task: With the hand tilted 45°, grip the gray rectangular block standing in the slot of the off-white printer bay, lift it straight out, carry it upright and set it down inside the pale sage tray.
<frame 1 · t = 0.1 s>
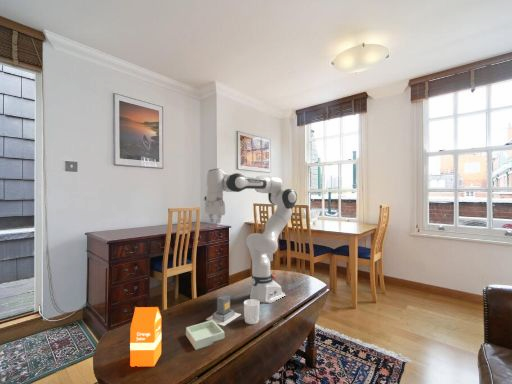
hand: (214, 222, 142), 48 cm above the table, tool pointing down, fingers open, 8 cm apart
orange juice: (146, 360, 98), on the table
printer bay: (223, 318, 130), on the table
gray rectangular block: (223, 316, 130), point 1 cm above the table, touching printer bay
sage tray: (204, 337, 113), on the table
white cup: (251, 323, 126), on the table
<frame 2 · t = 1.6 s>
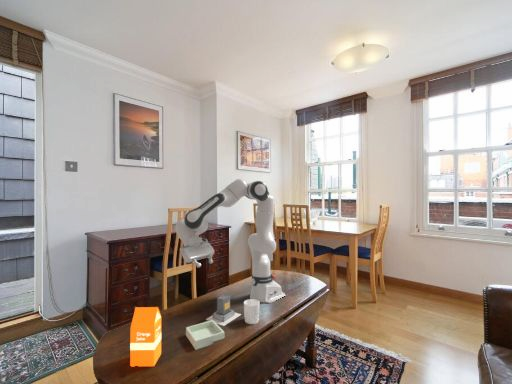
hand: (206, 264, 138), 26 cm above the table, tool tilted 45°, fingers open, 8 cm apart
nothing on the table moved.
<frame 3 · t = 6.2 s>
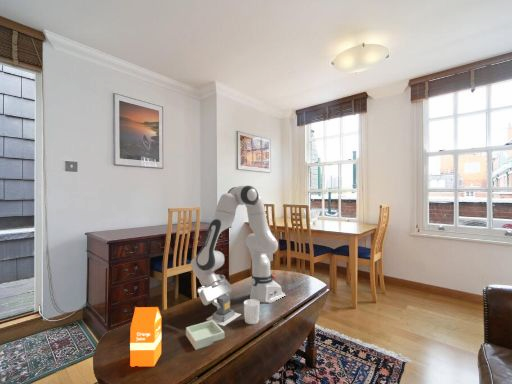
hand: (224, 305, 130), 7 cm above the table, tool tilted 45°, fingers closed on gray rectangular block, 5 cm apart
gray rectangular block: (223, 316, 130), point 1 cm above the table, touching gripper, printer bay
everything else where it was.
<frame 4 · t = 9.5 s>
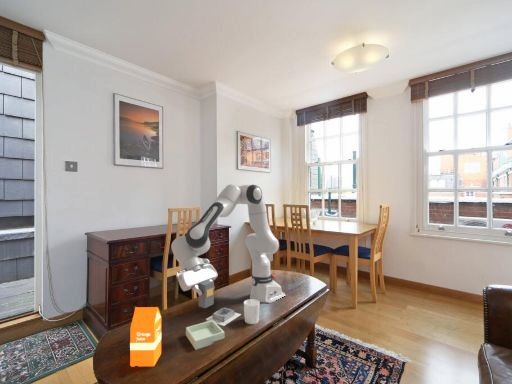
hand: (207, 292, 115), 19 cm above the table, tool tilted 45°, fingers closed on gray rectangular block, 5 cm apart
gray rectangular block: (206, 305, 115), point 14 cm above the table, touching gripper
everything else where it was.
when the fingers open (8 cm above the table, at t = 12.8 s): gray rectangular block drops 1 cm, resting on sage tray.
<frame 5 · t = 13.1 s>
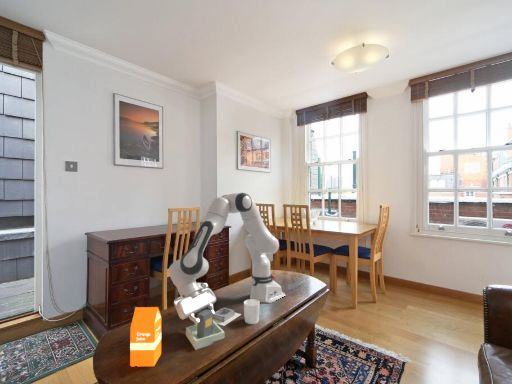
hand: (206, 319, 113), 8 cm above the table, tool tilted 45°, fingers open, 8 cm apart
gray rectangular block: (205, 335, 113), point 1 cm above the table, touching sage tray
everything else where it was.
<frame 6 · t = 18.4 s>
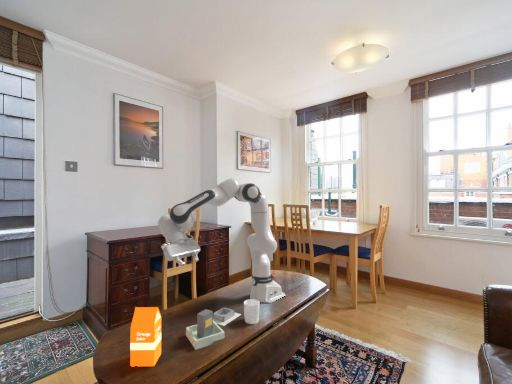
hand: (190, 263, 127), 29 cm above the table, tool tilted 45°, fingers open, 8 cm apart
nothing on the table moved.
at the end: gray rectangular block inside the target area on the sage tray (0.1 cm from its centre), point 1.0 cm above the sage tray's base; gray rectangular block tilted 0°; the gripper is holding nothing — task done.
